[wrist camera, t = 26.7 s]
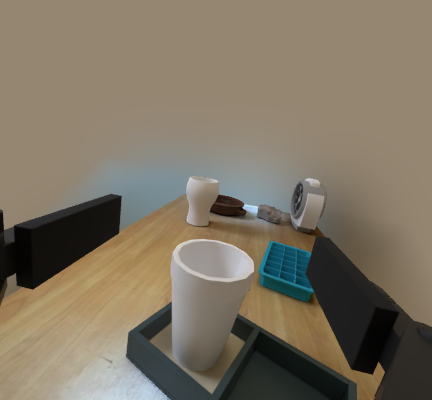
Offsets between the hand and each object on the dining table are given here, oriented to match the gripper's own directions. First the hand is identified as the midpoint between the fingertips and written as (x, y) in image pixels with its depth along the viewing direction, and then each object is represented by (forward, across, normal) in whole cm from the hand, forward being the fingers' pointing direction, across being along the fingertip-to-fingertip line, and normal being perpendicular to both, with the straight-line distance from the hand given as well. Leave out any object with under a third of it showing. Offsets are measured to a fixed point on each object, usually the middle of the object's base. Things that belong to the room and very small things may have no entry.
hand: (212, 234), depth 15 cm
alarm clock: (+77, +29, -21) cm, 85 cm away
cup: (+57, -10, -21) cm, 62 cm away
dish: (+78, -4, -21) cm, 81 cm away
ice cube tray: (+36, +16, -21) cm, 45 cm away
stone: (+78, +16, -21) cm, 83 cm away
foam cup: (+10, 0, -20) cm, 22 cm away
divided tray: (+7, +5, -21) cm, 22 cm away
